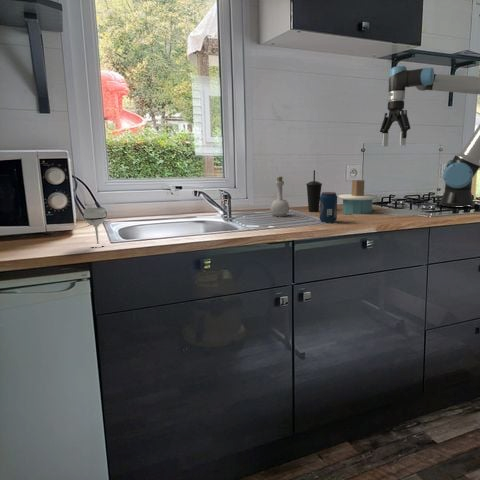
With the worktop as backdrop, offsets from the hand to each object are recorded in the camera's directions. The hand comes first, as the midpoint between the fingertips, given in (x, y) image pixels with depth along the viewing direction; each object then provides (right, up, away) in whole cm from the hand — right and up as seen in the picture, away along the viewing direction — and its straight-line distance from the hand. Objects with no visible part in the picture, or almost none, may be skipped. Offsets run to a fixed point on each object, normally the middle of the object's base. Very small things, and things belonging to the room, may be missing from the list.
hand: (393, 146), depth 193 cm
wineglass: (-122, -49, -68) cm, 148 cm away
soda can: (-40, -40, -33) cm, 65 cm away
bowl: (-21, -34, -11) cm, 42 cm away
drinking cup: (-40, -33, -2) cm, 52 cm away
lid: (-22, -27, -12) cm, 37 cm away
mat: (-2, -35, -16) cm, 38 cm away
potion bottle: (-58, -36, -13) cm, 69 cm away
